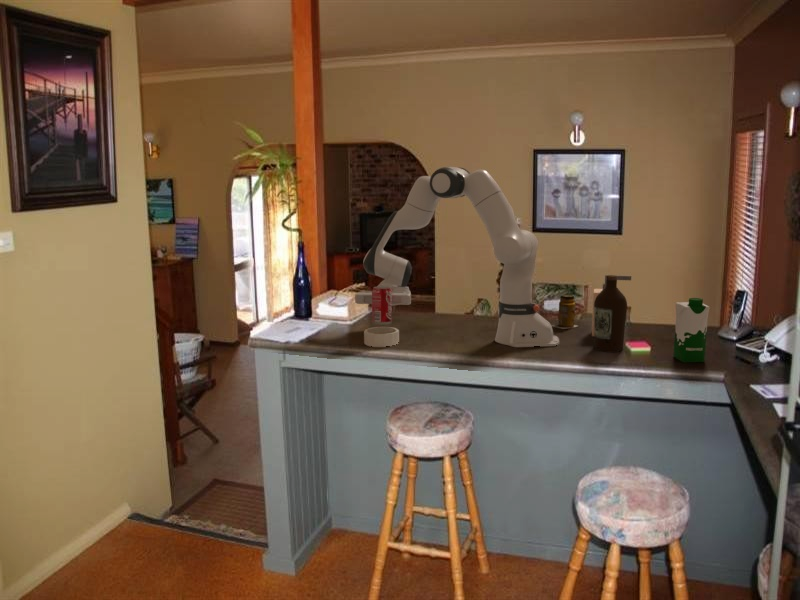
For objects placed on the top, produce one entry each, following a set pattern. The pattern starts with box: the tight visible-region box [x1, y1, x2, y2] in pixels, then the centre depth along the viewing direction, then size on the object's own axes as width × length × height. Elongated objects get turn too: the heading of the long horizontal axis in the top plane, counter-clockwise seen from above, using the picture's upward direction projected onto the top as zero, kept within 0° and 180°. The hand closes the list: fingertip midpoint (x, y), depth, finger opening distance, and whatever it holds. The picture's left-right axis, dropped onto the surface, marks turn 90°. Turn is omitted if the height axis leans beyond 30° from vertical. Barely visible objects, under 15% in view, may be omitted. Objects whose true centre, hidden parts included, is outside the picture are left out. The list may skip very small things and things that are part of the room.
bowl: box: [363, 326, 400, 348], centre depth 251 cm, size 12×12×4 cm
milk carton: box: [673, 297, 711, 363], centre depth 224 cm, size 9×9×20 cm
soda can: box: [371, 286, 393, 326], centre depth 249 cm, size 7×7×13 cm
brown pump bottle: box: [593, 274, 628, 353], centre depth 238 cm, size 11×11×25 cm
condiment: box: [551, 294, 578, 330], centre depth 273 cm, size 7×8×12 cm
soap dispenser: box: [591, 274, 632, 337], centre depth 257 cm, size 13×9×22 cm
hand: (380, 302), depth 248 cm, fingers closed on soda can
